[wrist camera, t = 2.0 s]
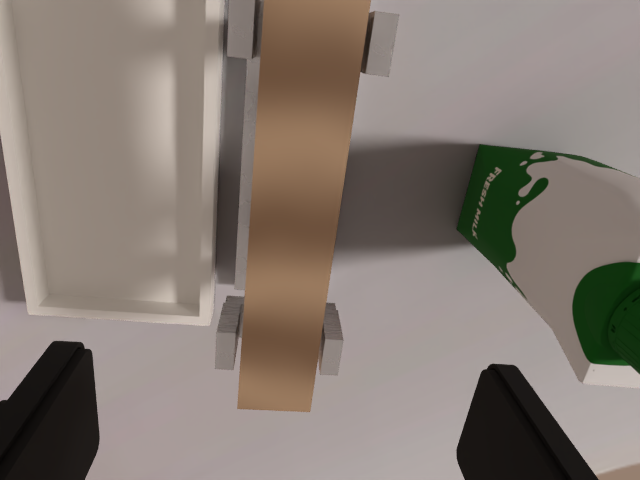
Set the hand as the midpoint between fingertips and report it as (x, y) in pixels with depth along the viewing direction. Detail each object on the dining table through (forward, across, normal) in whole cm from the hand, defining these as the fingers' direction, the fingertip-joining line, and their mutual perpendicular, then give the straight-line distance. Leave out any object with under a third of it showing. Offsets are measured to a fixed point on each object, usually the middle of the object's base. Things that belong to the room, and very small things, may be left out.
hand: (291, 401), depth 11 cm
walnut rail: (+15, 0, 0) cm, 15 cm away
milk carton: (+25, -18, +1) cm, 31 cm away
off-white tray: (+25, +12, 0) cm, 27 cm away
